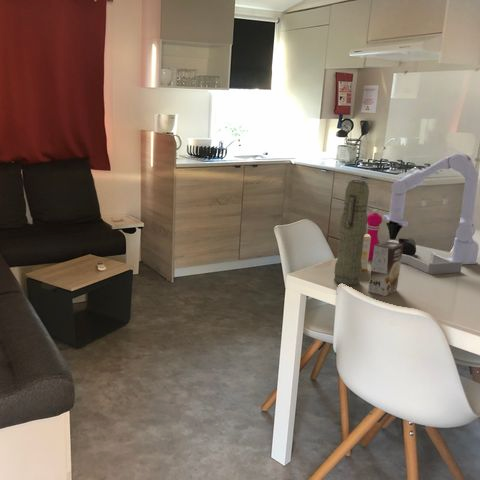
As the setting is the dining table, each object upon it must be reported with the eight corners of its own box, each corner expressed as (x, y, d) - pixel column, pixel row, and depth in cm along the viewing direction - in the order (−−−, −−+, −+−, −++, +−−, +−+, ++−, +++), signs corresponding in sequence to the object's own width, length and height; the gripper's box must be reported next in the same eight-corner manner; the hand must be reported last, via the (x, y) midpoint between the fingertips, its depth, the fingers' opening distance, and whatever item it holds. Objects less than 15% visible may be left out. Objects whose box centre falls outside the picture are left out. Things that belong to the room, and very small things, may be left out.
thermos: (362, 279, 190) (375, 180, 182) (355, 288, 180) (368, 184, 171) (338, 274, 194) (349, 177, 185) (329, 284, 183) (341, 181, 174)
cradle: (432, 258, 222) (434, 249, 221) (463, 271, 207) (465, 261, 206) (397, 261, 216) (399, 251, 215) (427, 274, 200) (428, 264, 199)
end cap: (414, 260, 219) (417, 244, 217) (396, 257, 221) (398, 241, 219) (414, 254, 228) (416, 238, 227) (397, 251, 230) (399, 236, 229)
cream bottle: (365, 267, 205) (369, 233, 202) (367, 271, 200) (371, 236, 197) (343, 265, 206) (347, 232, 202) (344, 269, 201) (348, 235, 198)
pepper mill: (378, 261, 214) (385, 211, 209) (360, 259, 215) (366, 210, 210) (378, 256, 221) (384, 208, 216) (360, 254, 222) (366, 206, 217)
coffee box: (385, 296, 174) (392, 249, 170) (367, 291, 178) (373, 244, 174) (397, 290, 181) (404, 244, 177) (379, 285, 185) (385, 240, 181)
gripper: (378, 205, 234) (374, 235, 237) (399, 212, 221) (395, 244, 224) (392, 204, 236) (388, 234, 240) (413, 211, 223) (409, 243, 227)
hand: (392, 239), depth 232 cm, fingers closed
